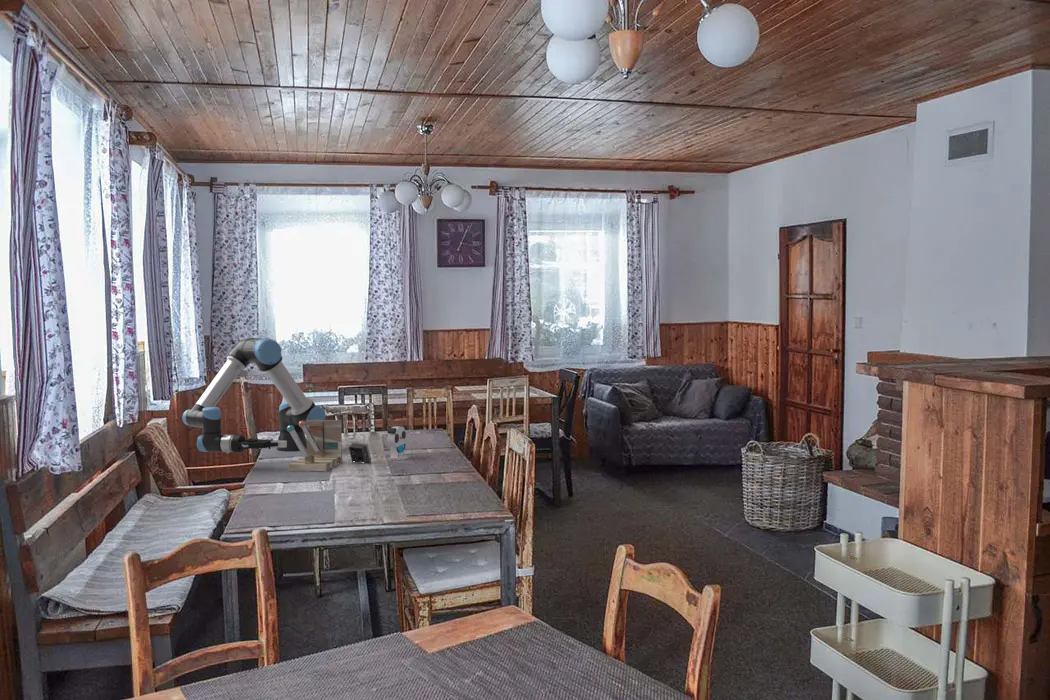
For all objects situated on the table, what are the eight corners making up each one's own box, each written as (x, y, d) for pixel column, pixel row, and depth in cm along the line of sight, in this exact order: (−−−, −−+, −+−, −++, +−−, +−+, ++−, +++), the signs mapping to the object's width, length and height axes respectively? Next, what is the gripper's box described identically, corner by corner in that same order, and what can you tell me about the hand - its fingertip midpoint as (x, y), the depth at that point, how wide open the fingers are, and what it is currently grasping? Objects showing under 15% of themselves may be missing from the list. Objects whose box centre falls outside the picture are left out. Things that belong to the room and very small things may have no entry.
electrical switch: (372, 462, 372) (370, 442, 370) (363, 465, 367) (362, 445, 366) (356, 460, 377) (355, 440, 375) (348, 463, 372) (346, 443, 371)
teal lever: (307, 460, 358) (287, 426, 358) (313, 457, 357) (293, 423, 357) (304, 462, 354) (284, 427, 354) (310, 458, 354) (290, 424, 354)
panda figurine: (402, 461, 374) (401, 428, 373) (379, 460, 377) (379, 427, 377) (413, 456, 385) (413, 424, 384) (392, 455, 389) (391, 423, 388)
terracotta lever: (318, 455, 371) (299, 422, 371) (324, 451, 371) (304, 418, 371) (315, 456, 368) (296, 423, 368) (321, 452, 368) (302, 419, 368)
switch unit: (308, 461, 376) (307, 419, 375) (342, 461, 375) (341, 419, 373) (289, 471, 353) (288, 427, 352) (325, 471, 352) (324, 427, 351)
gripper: (240, 449, 365) (292, 450, 363) (227, 454, 352) (280, 455, 350) (240, 432, 365) (291, 433, 363) (226, 437, 352) (280, 437, 350)
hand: (286, 444), depth 356 cm, fingers closed
